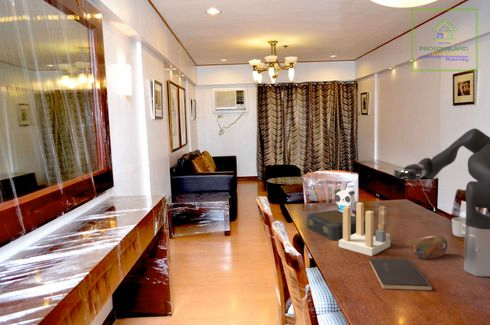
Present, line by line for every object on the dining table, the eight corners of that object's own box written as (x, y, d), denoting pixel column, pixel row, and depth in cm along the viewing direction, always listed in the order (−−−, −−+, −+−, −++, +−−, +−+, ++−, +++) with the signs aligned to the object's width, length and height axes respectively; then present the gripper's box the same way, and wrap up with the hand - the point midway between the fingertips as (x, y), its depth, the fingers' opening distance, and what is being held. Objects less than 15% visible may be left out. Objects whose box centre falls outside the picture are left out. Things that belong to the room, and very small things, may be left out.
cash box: (367, 235, 174) (367, 220, 173) (332, 241, 167) (332, 225, 167) (337, 222, 198) (337, 209, 197) (305, 227, 191) (305, 213, 190)
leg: (386, 239, 158) (386, 206, 156) (383, 241, 156) (383, 207, 155) (381, 238, 160) (381, 206, 158) (378, 239, 158) (378, 206, 156)
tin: (417, 260, 142) (417, 240, 141) (411, 257, 145) (411, 237, 144) (447, 255, 146) (448, 235, 145) (441, 252, 149) (442, 233, 148)
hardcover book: (382, 290, 119) (382, 283, 119) (368, 263, 142) (368, 257, 142) (432, 292, 117) (433, 285, 117) (411, 264, 139) (411, 258, 139)
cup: (476, 241, 161) (477, 223, 160) (457, 240, 163) (457, 223, 162) (466, 233, 172) (467, 217, 171) (448, 233, 173) (449, 217, 172)
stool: (392, 245, 159) (392, 206, 157) (371, 256, 148) (372, 213, 146) (359, 237, 171) (360, 200, 169) (338, 246, 160) (338, 207, 158)
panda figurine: (330, 215, 213) (330, 190, 211) (341, 211, 220) (341, 187, 219) (348, 218, 204) (348, 193, 202) (358, 214, 211) (358, 190, 210)
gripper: (401, 163, 180) (384, 166, 169) (428, 165, 170) (412, 169, 159) (401, 177, 181) (384, 182, 170) (428, 180, 171) (412, 185, 160)
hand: (398, 175), depth 164 cm, fingers closed
